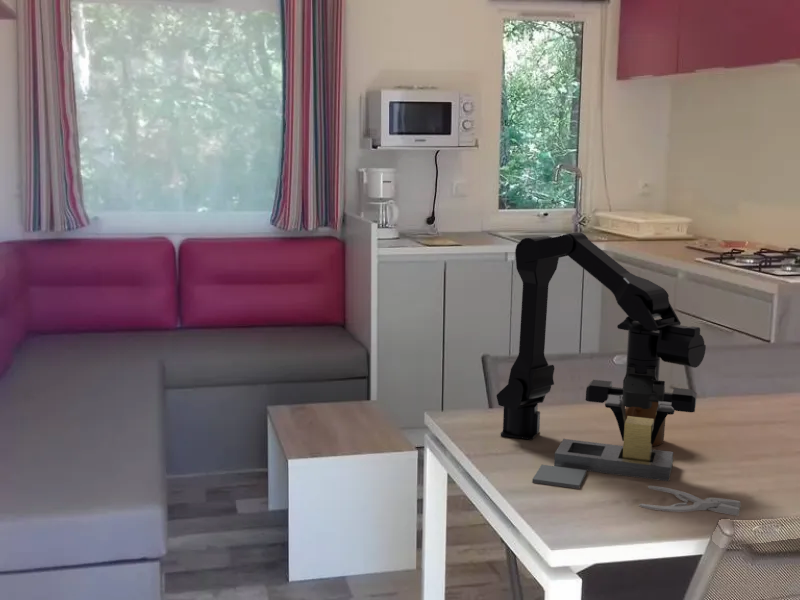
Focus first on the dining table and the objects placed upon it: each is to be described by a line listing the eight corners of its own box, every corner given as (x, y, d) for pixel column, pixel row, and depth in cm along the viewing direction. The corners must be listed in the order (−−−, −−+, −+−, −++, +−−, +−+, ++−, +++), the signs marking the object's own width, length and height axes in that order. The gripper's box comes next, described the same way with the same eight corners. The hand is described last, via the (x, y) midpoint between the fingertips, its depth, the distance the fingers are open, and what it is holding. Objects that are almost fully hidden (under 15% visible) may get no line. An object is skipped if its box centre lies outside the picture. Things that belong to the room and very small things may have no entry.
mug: (643, 455, 178) (646, 407, 177) (606, 446, 183) (609, 399, 182) (670, 440, 188) (673, 394, 186) (634, 432, 192) (637, 387, 191)
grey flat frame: (554, 466, 172) (554, 453, 171) (562, 451, 180) (563, 438, 179) (668, 481, 165) (669, 467, 165) (672, 465, 173) (673, 451, 173)
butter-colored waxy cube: (622, 460, 169) (624, 422, 168) (625, 452, 174) (627, 415, 172) (648, 464, 168) (651, 425, 167) (651, 456, 172) (653, 418, 171)
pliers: (649, 480, 162) (742, 494, 156) (648, 488, 162) (741, 503, 156) (639, 499, 153) (737, 515, 147) (638, 509, 153) (736, 525, 147)
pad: (532, 482, 163) (532, 479, 163) (541, 467, 171) (541, 464, 171) (579, 488, 161) (579, 485, 161) (586, 473, 168) (586, 470, 168)
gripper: (583, 361, 163) (578, 449, 166) (696, 372, 157) (689, 462, 160) (592, 348, 174) (588, 431, 176) (699, 358, 167) (693, 443, 170)
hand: (638, 442), depth 170 cm, fingers closed on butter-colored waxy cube, 5 cm apart
